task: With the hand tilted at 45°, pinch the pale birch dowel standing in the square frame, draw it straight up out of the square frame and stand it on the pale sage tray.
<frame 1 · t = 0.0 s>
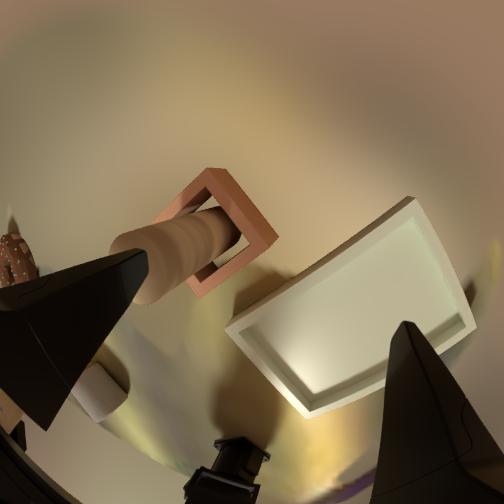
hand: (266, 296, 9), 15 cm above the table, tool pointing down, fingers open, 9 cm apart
square frame: (221, 227, 25), on the table
dowel: (188, 243, 19), in the square frame
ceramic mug: (108, 381, 38), on the table
tray: (356, 321, 24), on the table
donut: (26, 266, 38), on the table
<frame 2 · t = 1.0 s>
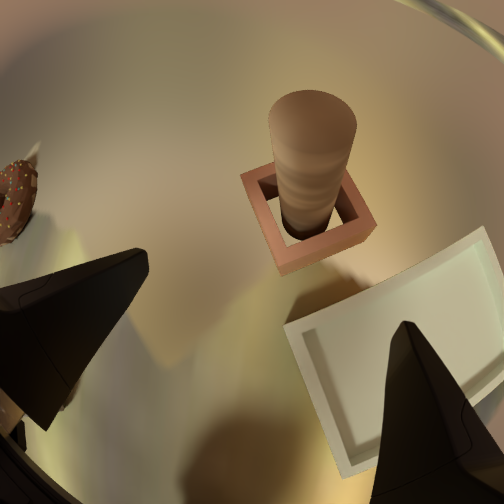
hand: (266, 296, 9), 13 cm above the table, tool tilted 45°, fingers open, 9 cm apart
square frame: (305, 218, 23), on the table
dowel: (308, 182, 17), in the square frame
tray: (421, 350, 19), on the table
donut: (19, 209, 31), on the table
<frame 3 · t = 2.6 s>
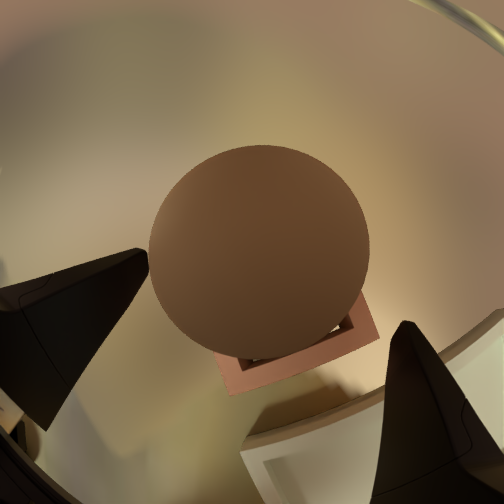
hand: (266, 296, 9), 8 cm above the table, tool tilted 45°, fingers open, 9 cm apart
square frame: (280, 303, 17), on the table
dowel: (274, 289, 11), in the square frame
tray: (415, 457, 12), on the table
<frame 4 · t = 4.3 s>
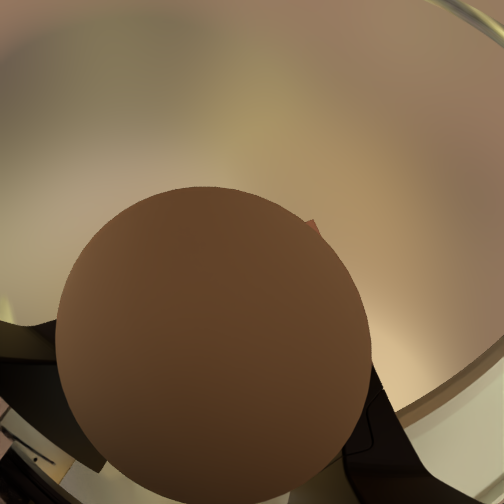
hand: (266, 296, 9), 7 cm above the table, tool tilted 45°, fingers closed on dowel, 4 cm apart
dowel: (255, 338, 9), in the square frame, touching gripper
tray: (412, 487, 10), on the table
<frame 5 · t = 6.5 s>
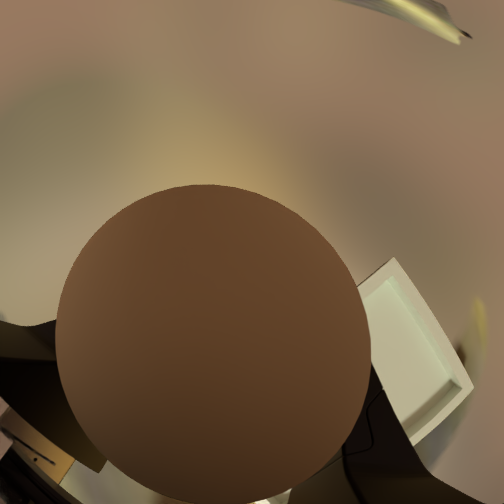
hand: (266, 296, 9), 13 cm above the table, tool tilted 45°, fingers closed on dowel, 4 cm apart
dowel: (255, 337, 9), point 13 cm above the table, touching gripper
tray: (335, 404, 19), on the table
when the fingers open (8 cm above the table, at t = 9.0 s): dowel stays where it is, resting on tray.
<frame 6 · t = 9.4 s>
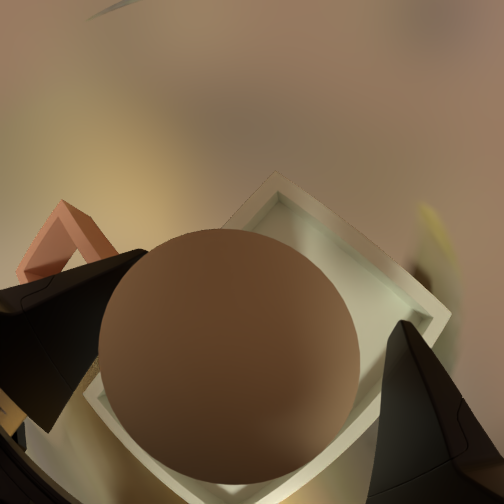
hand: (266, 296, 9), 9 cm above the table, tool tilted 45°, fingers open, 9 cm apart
square frame: (84, 278, 19), on the table
dowel: (259, 340, 10), in the tray, point 7 cm above the table
tray: (257, 371, 16), on the table
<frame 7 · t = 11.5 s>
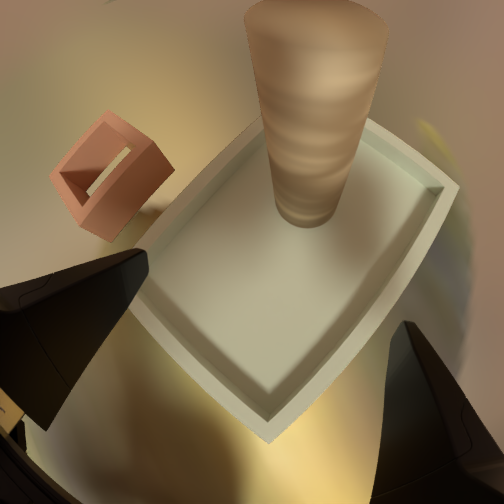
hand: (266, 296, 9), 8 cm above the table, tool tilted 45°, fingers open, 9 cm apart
square frame: (118, 182, 21), on the table
dowel: (311, 139, 11), in the tray, point 7 cm above the table
tray: (294, 241, 18), on the table
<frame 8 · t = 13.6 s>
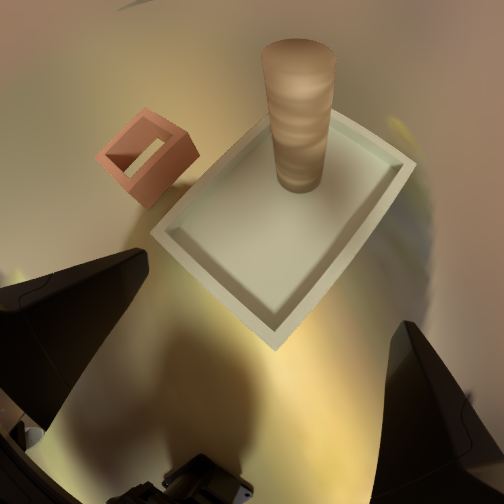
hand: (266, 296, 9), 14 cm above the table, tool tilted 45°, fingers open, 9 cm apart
square frame: (153, 165, 27), on the table
dowel: (300, 126, 18), in the tray, point 7 cm above the table
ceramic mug: (28, 419, 22), on the table
tray: (291, 204, 24), on the table
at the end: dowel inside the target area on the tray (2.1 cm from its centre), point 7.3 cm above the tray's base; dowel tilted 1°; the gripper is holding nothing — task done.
